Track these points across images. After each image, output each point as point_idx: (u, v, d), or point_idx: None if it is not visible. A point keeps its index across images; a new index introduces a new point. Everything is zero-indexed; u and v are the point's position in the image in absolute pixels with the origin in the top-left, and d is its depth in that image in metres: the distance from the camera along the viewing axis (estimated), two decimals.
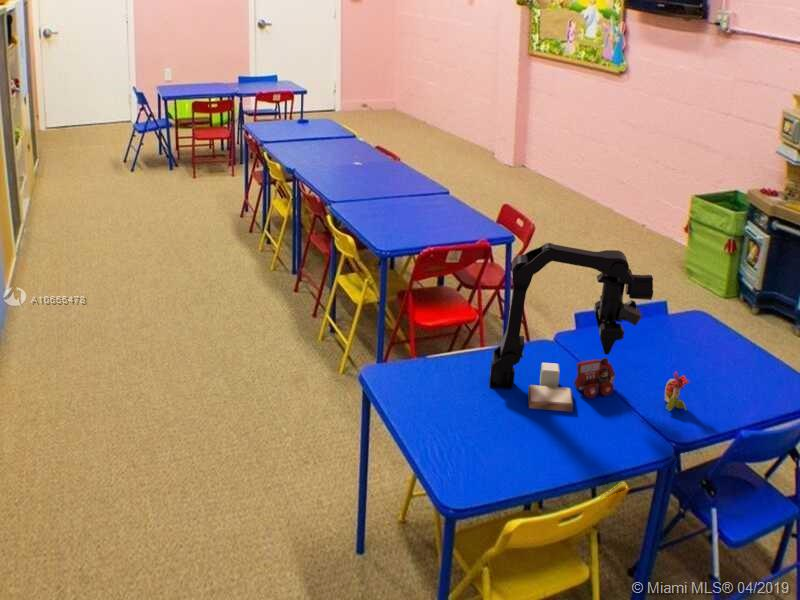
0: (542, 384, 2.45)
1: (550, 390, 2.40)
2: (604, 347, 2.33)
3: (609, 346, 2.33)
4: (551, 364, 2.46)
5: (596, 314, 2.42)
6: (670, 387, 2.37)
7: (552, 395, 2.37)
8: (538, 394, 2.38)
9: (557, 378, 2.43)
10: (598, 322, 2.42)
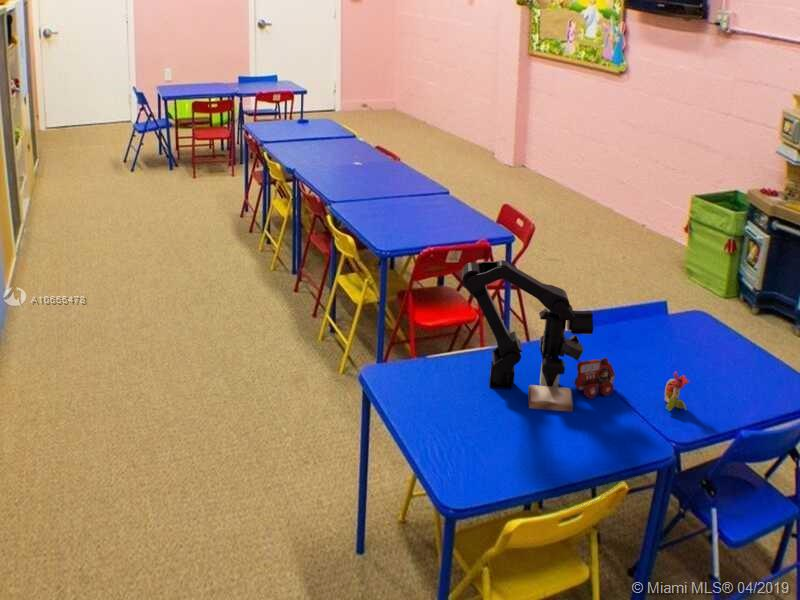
0: (542, 384, 2.45)
1: (550, 390, 2.40)
2: (547, 381, 2.41)
3: (552, 380, 2.40)
4: None
5: (541, 348, 2.49)
6: (670, 387, 2.37)
7: (552, 395, 2.37)
8: (538, 394, 2.38)
9: (557, 378, 2.43)
10: (543, 356, 2.49)
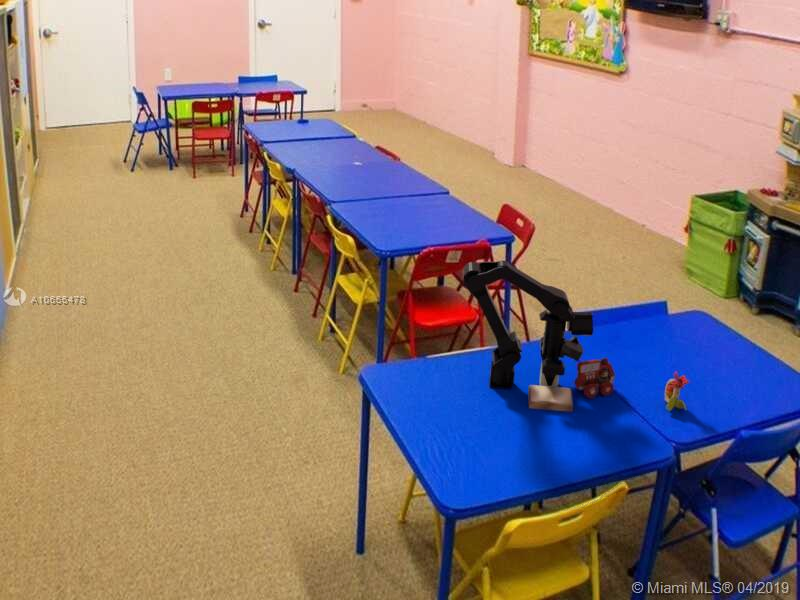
0: (542, 384, 2.45)
1: (550, 390, 2.40)
2: (547, 379, 2.42)
3: (551, 378, 2.42)
4: None
5: (541, 352, 2.48)
6: (670, 387, 2.37)
7: (552, 395, 2.37)
8: (538, 394, 2.38)
9: (557, 378, 2.43)
10: (543, 360, 2.48)
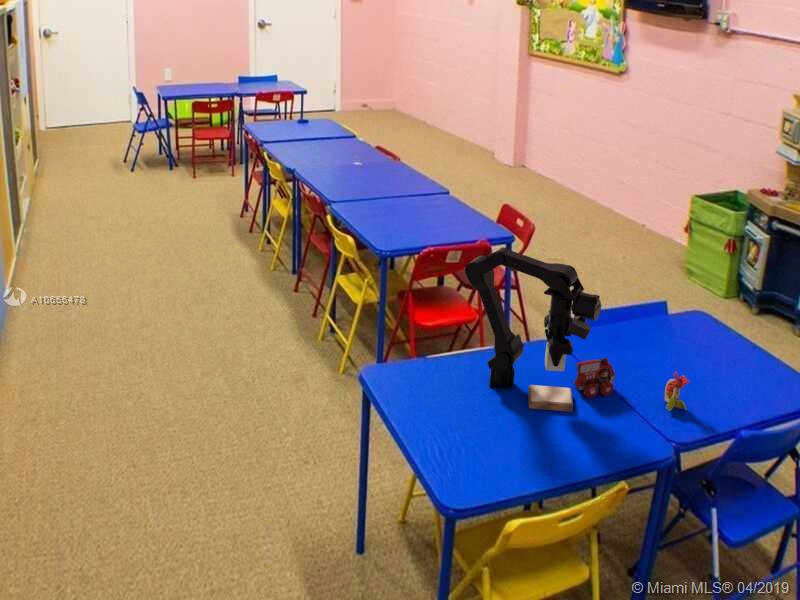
0: (548, 365, 2.34)
1: (550, 390, 2.40)
2: (553, 359, 2.31)
3: (558, 358, 2.31)
4: None
5: (546, 332, 2.37)
6: (670, 387, 2.37)
7: (552, 395, 2.37)
8: (538, 394, 2.38)
9: (563, 358, 2.32)
10: (548, 340, 2.36)
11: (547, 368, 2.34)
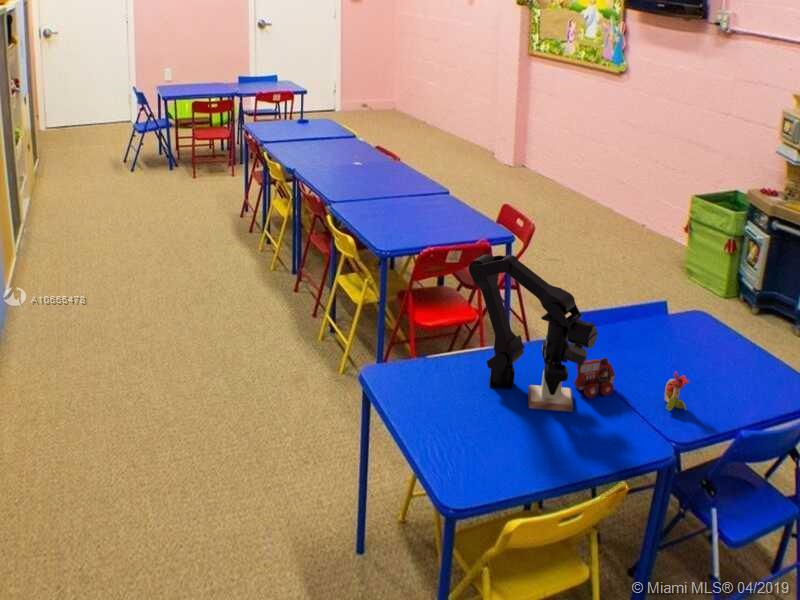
0: (544, 392, 2.36)
1: None
2: (549, 388, 2.31)
3: (554, 387, 2.31)
4: None
5: (543, 353, 2.40)
6: (670, 387, 2.37)
7: None
8: (538, 394, 2.38)
9: (559, 386, 2.34)
10: (545, 361, 2.40)
11: (543, 396, 2.36)
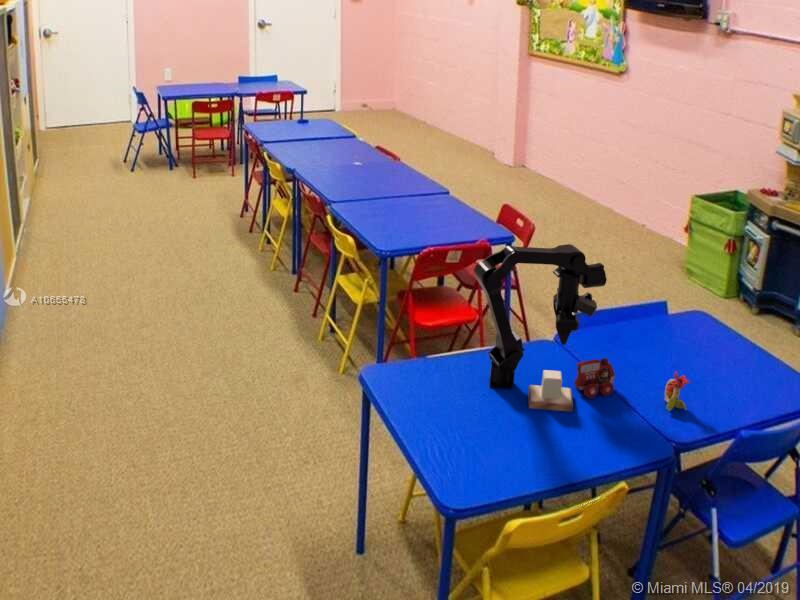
0: (544, 392, 2.36)
1: None
2: (560, 338, 2.41)
3: (565, 337, 2.41)
4: (553, 371, 2.37)
5: (554, 306, 2.50)
6: (670, 387, 2.37)
7: None
8: (538, 394, 2.38)
9: (559, 386, 2.34)
10: (556, 314, 2.50)
11: (543, 396, 2.36)
